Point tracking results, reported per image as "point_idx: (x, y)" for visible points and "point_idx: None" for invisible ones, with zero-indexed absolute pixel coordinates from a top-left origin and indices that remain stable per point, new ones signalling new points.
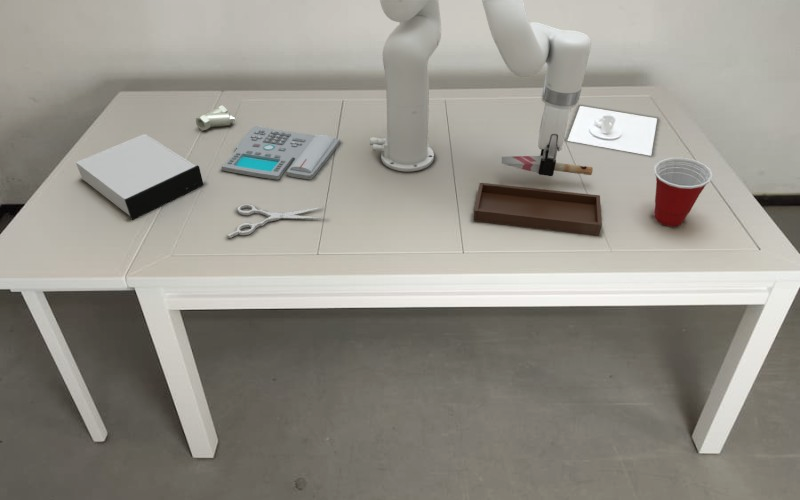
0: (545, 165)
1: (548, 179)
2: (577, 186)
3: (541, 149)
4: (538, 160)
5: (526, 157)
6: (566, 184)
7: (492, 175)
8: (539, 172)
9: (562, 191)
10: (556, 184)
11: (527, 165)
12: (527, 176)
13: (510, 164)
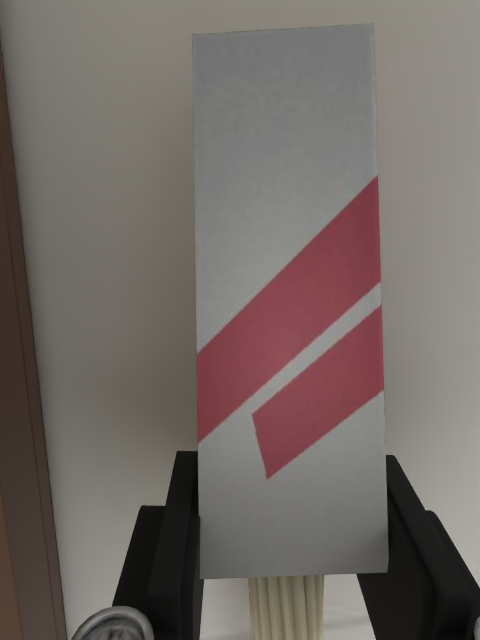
0: (122, 589)
1: None
2: None
3: (446, 572)
4: (286, 496)
5: (351, 366)
6: None
7: (309, 22)
8: (176, 466)
9: (11, 596)
10: None
11: (200, 375)
12: None
13: (197, 168)
